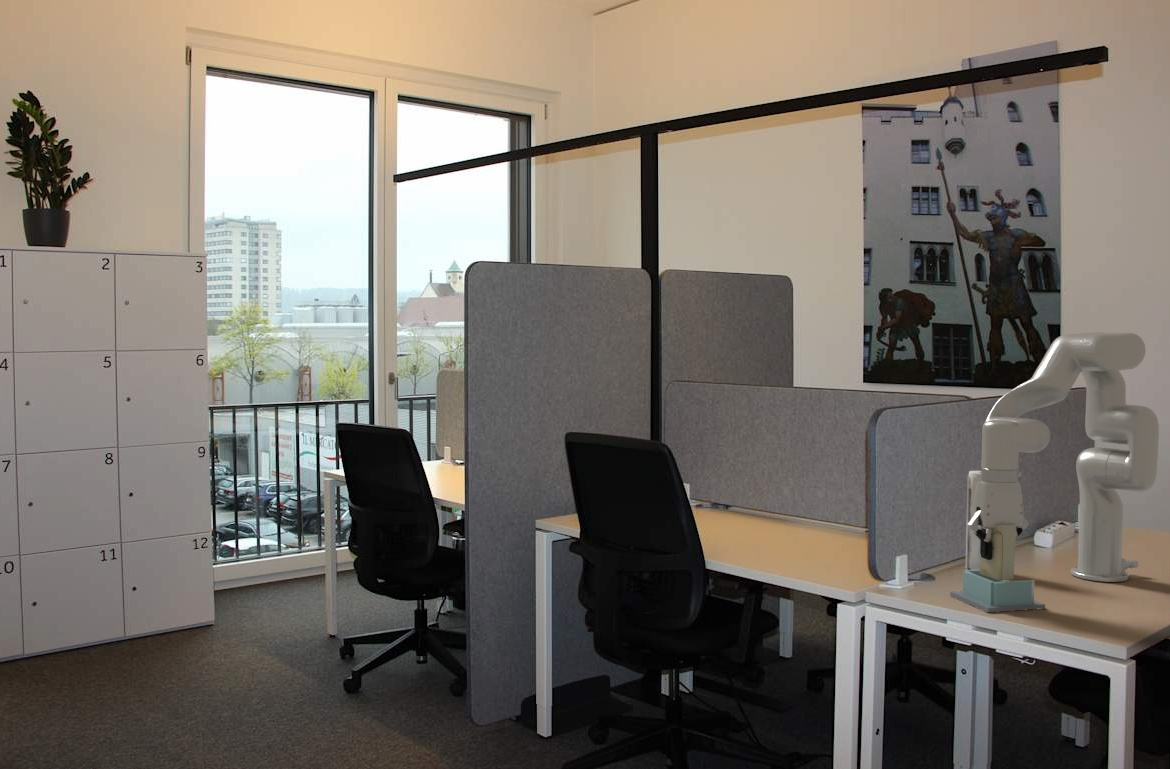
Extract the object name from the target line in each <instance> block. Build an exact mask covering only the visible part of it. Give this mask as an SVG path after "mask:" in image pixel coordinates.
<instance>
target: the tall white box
mask: <svg viewBox="0 0 1170 769" xmlns="http://www.w3.org/2000/svg"><path fill="white" fill-rule="evenodd" d="M966 480H967V482H966V484H967V488H966V489H967V490H966V523H965V524H966V526H965V527H966V529H965V532H966V533H965V568H966V569H965V570H977V569H980V540H979V539H978V537H977V536H976V535H975V533H974V532H973V531H971V530H970V529H969V528H968V527H967V525H968V523H969V522H970V521H971V519H972V511H973V501H974V494H975V490H976V486H977V483H978V482H981V470H969V471H968V474H967V477H966ZM977 527H978V528H979V529H980V527H981V525H977Z"/></svg>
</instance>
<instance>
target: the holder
mask: <svg viewBox="0 0 1170 769" xmlns="http://www.w3.org/2000/svg"><path fill="white" fill-rule="evenodd" d="M979 570H980V569H977V570H966V569H963V571H962V590H958V591H957V590H955V591H954V590H953V591H950V593H949V594H950V597H951V596H952V598H954V597H955V598H954V599H956V598H957V599H956V600H958V599H959V600H958V601H960V600H961V601H960V602H962V601H964V602H963V603H965V602H966V603H965V604H967V603H968V604H967V605H969V604H971V605H973V606H972V607H974V606H975V607H974V608H976V607H977V608H976V609H978V608H979V609H978V610H980V609H982V610H984V611H983V612H985V611H986V612H985V613H987V612H995V613H998V612H997V611H1009V612H1016V611H1015V610H1023V611H1026V610H1025V609H1037V608H1045V609H1046V604H1045V603H1043V602H1041V601H1039V600H1035V582H1036V581H1035V580H1034V579H1026V580H1023V579H1022V580H1005V581H1004V580H996V579H993V578H990V577H987V576H984V575H981V574H979ZM971 605H970V606H971ZM982 610H981V611H982ZM1037 610H1038V609H1037Z"/></svg>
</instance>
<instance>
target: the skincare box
mask: <svg viewBox="0 0 1170 769" xmlns="http://www.w3.org/2000/svg"><path fill="white" fill-rule="evenodd" d="M985 533H986V532H985ZM1015 540H1016V525H1013V524H1012V525H997V528H994V529H993V531H992V534H991V538H990V542H992V559H991V560H987V559H984V558H982V557H981V554H980V570H979V574H981V575H984V576H987V577H990V578H993V579H996V580H1003V581H1008V580H1014V577H1015V558H1016V557H1015V555H1016V554H1015V553H1016V541H1015Z"/></svg>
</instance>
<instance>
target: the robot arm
mask: <svg viewBox="0 0 1170 769" xmlns="http://www.w3.org/2000/svg"><path fill="white" fill-rule="evenodd" d="M1049 346H1050V347H1048V349H1047V351H1046V353H1045V354H1044V356H1043V357H1042V359H1041V360H1040V361H1041V362H1040V363H1039V365H1038V366H1037V367H1036V369H1035V371H1034V373H1033V375H1032V377H1031V378H1030V379H1028V380H1027V381H1024V382H1023V383H1021V384H1019V385H1017V386H1016V387H1014V388H1012V389H1011V390H1010V391H1008V392H1007V393H1005V394H1004V395H1003V396H1001V397H1000V398H998V400H997V401H996V402H995V403H994V405H993V406H992V409H991V410H990V412H989V414H988V415H987V417H986V419H985V420H984V423H983V424H982V431H981V433H982V434H981V470H980V471H981V482H978V483H977V486H976V490H975V494H974V501H973V511H972V519H971V521H970V522H969V523H968V525H967V527H968V528H969V529H970V530H971V531H973V532H974V533H975V535H976V536H977V537H978V539H979V540H980V554H981V557H982V558H984V559H987V560H991V559H992V542H990V538H991V534H992V531H993V529H994V528H997V525H1012V524H1013V525H1016V540H1015V542H1016V541H1018V539H1019V537H1020V535H1021V534H1022V533H1023V531H1024V530H1025V529H1027V528H1028V526H1029V525H1030V523H1029V522H1028V520H1027V519H1026V517H1025V516H1024V502H1023V500H1024V499H1023V492H1022V486H1021V483H1020V482H1019V478H1020V477H1022V475H1023V473H1022V470H1019V453H1030V454H1032V453H1033V454H1034V453H1039V452H1041V451H1043V450H1044V449H1046V447H1047V446H1048V444H1049V443H1050V441H1051V431H1050V429H1049V427H1048V426H1047V425H1046V423H1044V422H1043V421H1040V419H1039V420H1038V419H1034V418H1024V417H1023V418H1022V417H1021V416H1022V415H1024V414H1027V413H1028V412H1030V411H1035V410H1037V409H1041V408H1044V407H1047V406H1048V407H1049V406H1051V405H1055V404H1056V403H1059V402H1062V401H1063V400H1065V399H1066V397H1068V395H1069V394H1070V392H1071V389H1072V387H1073V386H1074V384H1075V382H1076V381H1077V379H1078V378H1079V376H1080V374H1082V376H1083V379H1084V381H1085V387H1086V389H1085V390H1086V391H1085V392H1086V397H1085V398H1086V399H1085V416H1084V417H1085V418H1084V419H1085V420H1084V421H1085V422H1084V424H1085V425H1084V426H1085V427H1084V428H1085V433H1086V435H1087V437H1088V438H1089V439H1091V440H1092V441H1094V442H1099V443H1107V444H1117V445H1128V447H1129V448H1128V449H1129V450H1127V449H1118V448H1109V447H1089V448H1087V449H1084V450H1081V452H1080V453H1079V454H1078V456H1077V457H1076V462H1075V463H1076V464H1075V468H1076V469H1075V471H1076V477H1077V480H1078V488H1079V490H1078V491H1079V513H1078V514H1079V515H1078V516H1079V517H1078V518H1079V519H1078V520H1079V521H1078V550H1077V552H1078V554H1077V556H1078V557H1077V566H1073V567H1071V569H1070V574H1071V575H1072V576H1074V577H1077V578H1078V579H1083V580H1088V581H1095V582H1105V583H1119V582H1126V581H1128V580H1129V576H1130V575H1129V573H1128V572H1127V571H1126V570H1128V569H1137V568H1138V567H1139V565H1140V564H1139V561H1138V560H1137V559H1130V560H1126V558H1123V537H1124V536H1123V530H1124V527H1123V526H1124V505H1123V501H1122V499H1121V497H1120V495H1119V493H1118V492H1117V490H1121V491H1122V490H1123V491H1130V492H1138V493H1142V492H1147V491H1149V490H1151V488H1152V487H1153V486H1154V485H1155V482H1156V479H1157V473H1158V459H1159V458H1158V457H1159V456H1158V455H1159V454H1158V453H1159V439H1160V438H1159V436H1160V424H1159V420H1158V417H1157V415H1156V413H1155V412H1154V410H1152V409H1151V408H1150V407H1147V406H1144V405H1135V404H1134V405H1133V404H1127V403H1126V400H1127V399H1126V398H1127V397H1126V394H1127V393H1126V392H1127V390H1126V381H1125V379H1124V377H1123V375H1122V373H1121V372H1120V371H1126V370H1133V369H1135V368H1138V366H1140V365H1141V364H1142V362H1143V361H1144V359H1145V357H1146V356H1145V355H1146V345H1145V342H1144V340H1143V339H1142V337H1141V336H1140V335H1139V334H1137V333H1134V332H1103V331H1102V332H1097V331H1096V332H1094V331H1093V332H1081V333H1071V334H1068V333H1067V334H1063V335H1060V336H1058V337H1056V338H1055V339H1054V340H1053V341H1052V342H1051V345H1049ZM977 525H981V527H980V529H979V528H978V527H977ZM985 532H986V533H985Z"/></svg>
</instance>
